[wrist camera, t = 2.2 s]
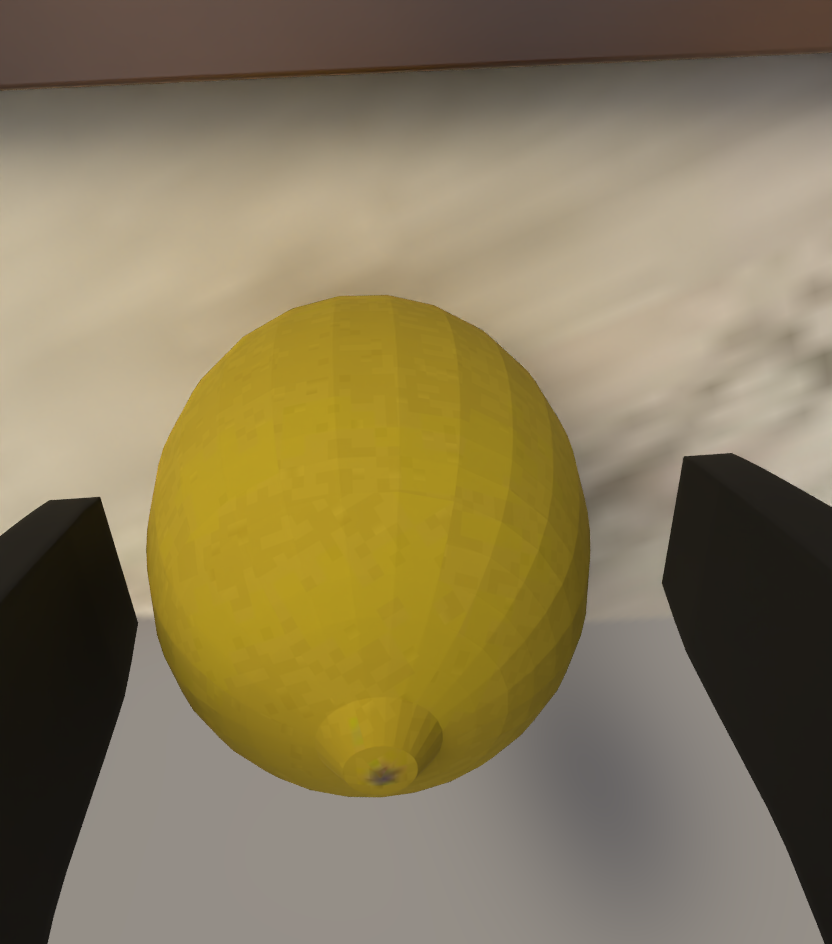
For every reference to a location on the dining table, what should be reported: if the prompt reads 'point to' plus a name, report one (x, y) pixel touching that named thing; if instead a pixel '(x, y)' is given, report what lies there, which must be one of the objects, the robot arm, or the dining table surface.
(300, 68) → the board
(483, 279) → the dining table surface
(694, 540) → the robot arm
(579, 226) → the dining table surface
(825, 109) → the dining table surface
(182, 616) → the lemon
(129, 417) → the dining table surface
